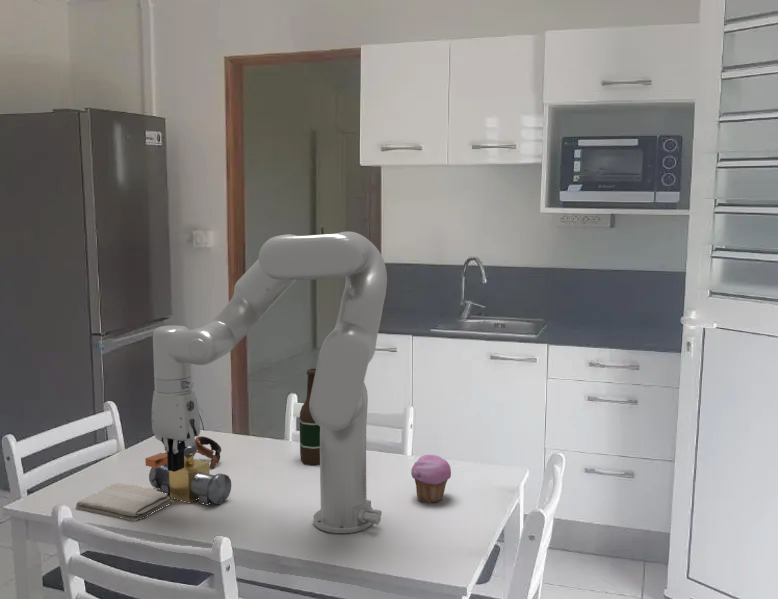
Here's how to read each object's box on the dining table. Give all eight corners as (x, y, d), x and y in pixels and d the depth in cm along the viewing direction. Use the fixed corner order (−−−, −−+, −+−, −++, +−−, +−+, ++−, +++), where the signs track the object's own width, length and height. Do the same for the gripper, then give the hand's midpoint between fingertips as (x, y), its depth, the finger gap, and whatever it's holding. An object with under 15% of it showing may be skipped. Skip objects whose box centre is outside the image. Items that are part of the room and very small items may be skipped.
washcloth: (138, 525, 159) (137, 510, 159) (73, 511, 166) (72, 497, 166) (175, 504, 170) (175, 491, 170) (113, 492, 177) (112, 479, 177)
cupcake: (425, 489, 177) (425, 447, 176) (458, 497, 172) (458, 454, 171) (404, 501, 170) (404, 457, 169) (437, 510, 165) (437, 465, 164)
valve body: (231, 499, 171) (230, 456, 170) (211, 509, 166) (210, 465, 165) (170, 484, 181) (169, 443, 180) (149, 492, 176) (147, 450, 175)
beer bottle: (329, 465, 193) (327, 372, 191) (298, 465, 194) (296, 372, 191) (331, 455, 201) (330, 366, 198) (302, 455, 201) (300, 366, 198)
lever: (200, 451, 173) (200, 444, 173) (156, 468, 162) (156, 460, 162) (188, 449, 175) (188, 442, 175) (144, 465, 164) (144, 458, 164)
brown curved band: (193, 459, 201) (208, 432, 200) (216, 480, 196) (232, 454, 196) (161, 460, 190) (177, 433, 189) (184, 484, 186) (201, 455, 185)
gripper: (212, 385, 160) (214, 470, 162) (161, 377, 167) (164, 458, 170) (185, 393, 153) (188, 481, 156) (134, 384, 161) (137, 468, 163)
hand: (176, 469), depth 163 cm, fingers closed
